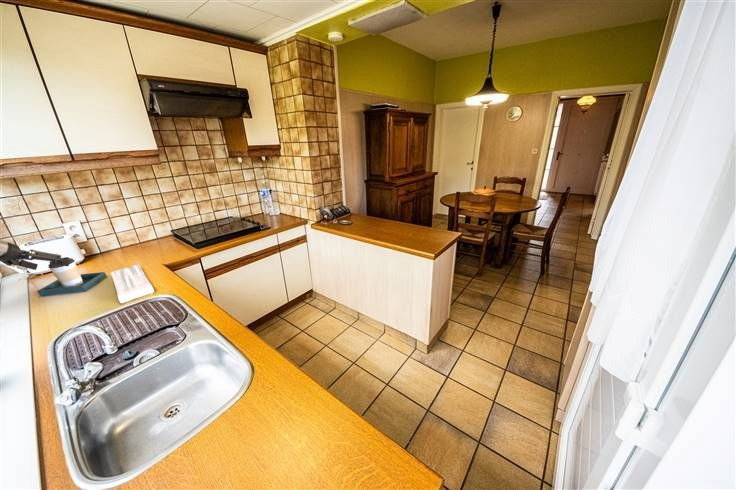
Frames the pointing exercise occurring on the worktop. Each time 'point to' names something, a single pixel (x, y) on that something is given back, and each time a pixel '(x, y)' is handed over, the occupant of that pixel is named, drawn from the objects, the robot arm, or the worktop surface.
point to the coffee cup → (67, 273)
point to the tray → (88, 282)
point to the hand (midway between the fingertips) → (52, 265)
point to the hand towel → (131, 283)
